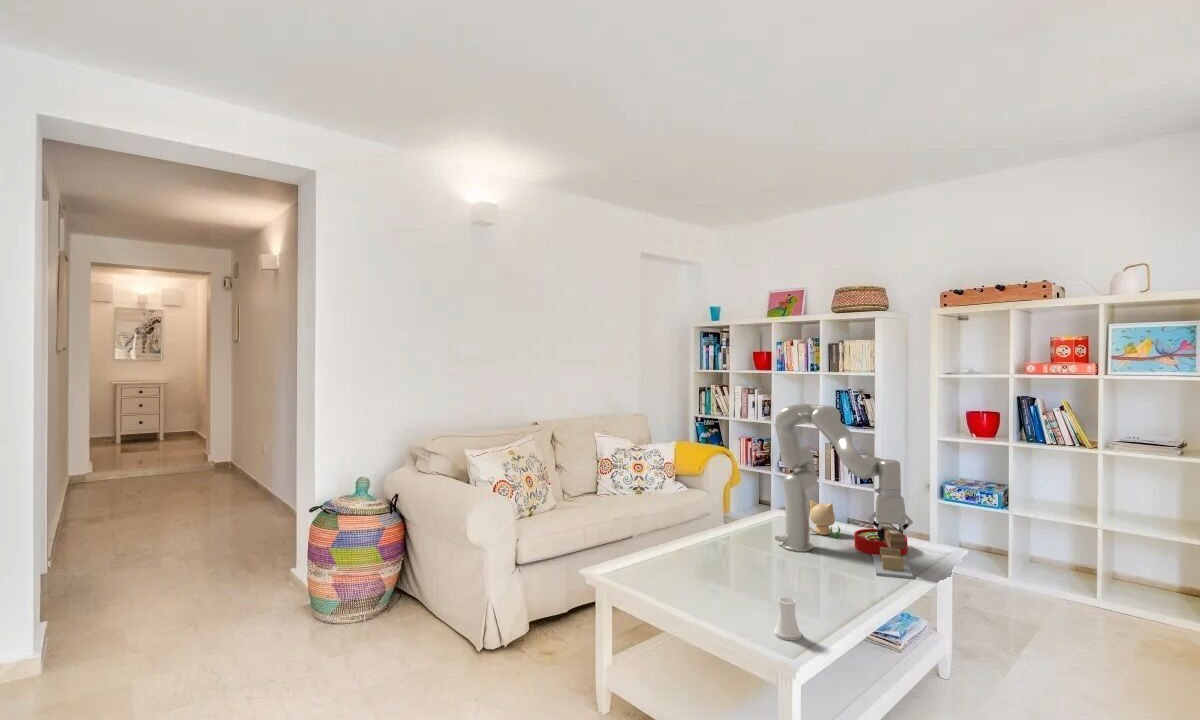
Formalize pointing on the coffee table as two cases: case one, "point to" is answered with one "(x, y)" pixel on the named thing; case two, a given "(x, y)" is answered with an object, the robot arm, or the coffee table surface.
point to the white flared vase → (787, 620)
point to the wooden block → (892, 537)
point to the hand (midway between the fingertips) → (890, 539)
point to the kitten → (822, 518)
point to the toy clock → (872, 542)
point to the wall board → (891, 572)
